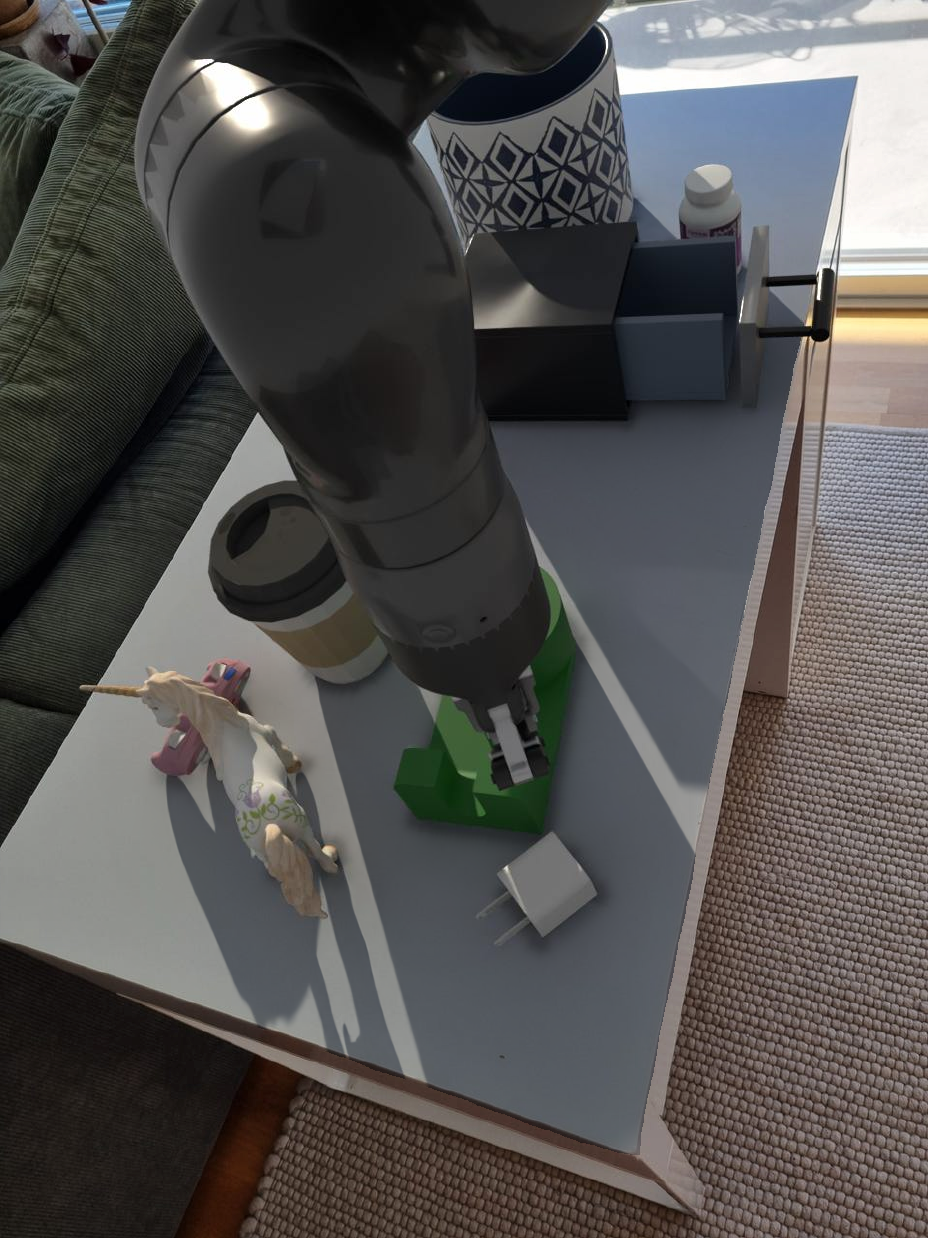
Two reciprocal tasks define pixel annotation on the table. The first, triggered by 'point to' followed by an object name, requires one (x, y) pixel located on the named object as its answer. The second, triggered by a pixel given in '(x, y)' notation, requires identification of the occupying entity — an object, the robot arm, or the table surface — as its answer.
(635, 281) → the drawer
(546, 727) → the slotted cylinder bracket
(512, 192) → the planter
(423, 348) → the robot arm
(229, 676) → the pink toy car
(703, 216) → the pill bottle
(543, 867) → the usb wall charger
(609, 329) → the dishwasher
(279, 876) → the unicorn figurine
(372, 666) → the coffee cup
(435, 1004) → the table surface
